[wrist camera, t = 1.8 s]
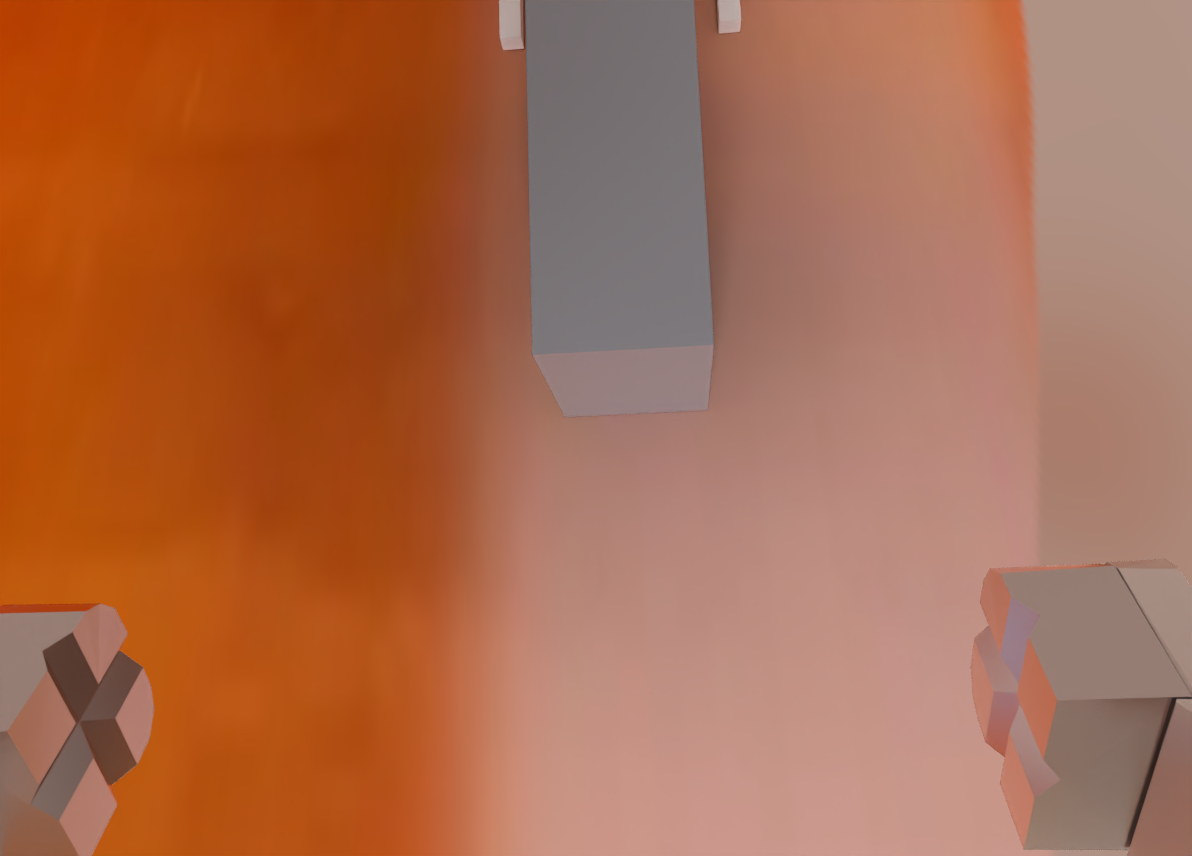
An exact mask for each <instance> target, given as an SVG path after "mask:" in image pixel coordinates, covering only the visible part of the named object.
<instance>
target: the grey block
mask: <svg viewBox="0 0 1192 856" xmlns="http://www.w3.org/2000/svg"><path fill="white" fill-rule="evenodd" d="M525 17H526V67H527V118H528V168H529V218H530V268H531V319H532V355H533V357H534V359H535V361H536V363H537V365H538V367H539V369H540V371H541V372H542V374H543V376H544V378H545V380H546V382H547V384H548V386H549V388H550V390H551V392H552V393H553V395H554V397H555V399H556V401H557V403H558V405H559V407H560V409H561V411H562V412H563V414H564V416H565V417H582V416H602V415H622V414H642V413H662V412H682V411H702V410H708V403H709V392H710V381H711V371H712V360H713V350H714V337H713V319H712V302H711V285H710V268H709V251H708V234H707V216H706V199H705V182H704V165H703V148H702V131H701V113H700V96H699V79H698V62H697V45H696V28H695V11H694V0H525Z"/></svg>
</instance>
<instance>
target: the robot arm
mask: <svg viewBox="0 0 1192 856" xmlns="http://www.w3.org/2000/svg"><path fill="white" fill-rule="evenodd" d="M980 604H981V606H982V609H983V611H984V614H985V617H986V619H987V622H988V624H989V625H988V626H987V627H986V628H985V629H984V630H983V631H982V632H981V633H980V634H979V635H978V636H977V637H976V638H974V645H973V653H972V662H971V675H972V692H973V699H974V704H975V709H976V713H977V718H978V721H979V724H980V727H981V730H982V733H983V736H984V739H985V742H986V743H987V744H989V745H990V746H991V747H992V748H994V749H995V750H996V751H997V752H999V753H1000V754H1001V755H1002V756H1004V757H1005V759H1004V764H1003V770H1002V775H1001V781H1000V785H1001V788H1002V791H1003V793H1004V796H1005V799H1006V802H1007V804H1008V807H1009V810H1010V813H1011V816H1012V818H1013V821H1014V824H1015V827H1016V829H1017V832H1018V835H1019V838H1020V841H1021V843H1022V846H1023V849H1024V850H1129V851H1128V854H1127V855H1128V856H1192V587H1191V585H1190V584H1189V583H1188V581H1187V580H1186V578H1185V577H1184V575H1183V574H1182V572H1181V571H1180V569H1179V568H1178V567H1177V565H1175V564H1173V563H1172V562H1170V561H1168V560H1167V559H1154V560H1136V561H1119V562H1107V563H1105V564H1077V565H1057V566H1034V567H1012V568H991V569H989V571H988V573H987V575H986V577H985V579H984V581H983V587H982V593H981V599H980ZM127 634H128V633H127V631H126V629H125V627H124V625H123V623H122V621H121V619H120V617H119V616H118V614H117V612H116V610H115V608H113V607H109V606H106V605H103V604H36V605H2V606H0V856H91V855H92V853H93V851H94V850H95V848H96V846H97V844H98V842H99V840H100V838H101V836H102V834H103V832H104V830H105V828H106V826H107V824H108V822H109V820H110V818H111V816H112V814H113V812H114V810H115V808H116V806H117V802H116V799H115V795H114V792H113V788H112V784H113V783H115V782H116V781H117V780H118V779H120V778H121V777H122V776H123V775H125V774H126V773H127V772H129V771H130V770H131V769H132V768H134V767H135V766H136V765H137V764H138V762H139V760H140V758H141V756H142V754H143V751H144V749H145V747H146V745H147V743H148V741H149V738H150V732H151V725H152V719H153V713H154V704H153V697H152V690H151V685H150V683H149V680H148V678H147V676H146V673H145V671H144V669H143V667H142V666H140V665H139V664H138V663H136V662H135V661H133V660H132V659H131V658H129V657H128V656H127V655H125V654H124V653H122V652H121V651H120V649H121V647H122V645H123V643H124V641H125V639H126V636H127Z"/></svg>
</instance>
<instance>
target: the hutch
mask: <svg viewBox="0 0 1192 856" xmlns="http://www.w3.org/2000/svg"><path fill="white" fill-rule="evenodd" d="M717 15H718V31H719V34H720V33H733V32H740V27H741V9H740V0H717ZM499 26H500V41H501V44H502V48H503V50H513V49H524V21H523V0H499Z"/></svg>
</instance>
